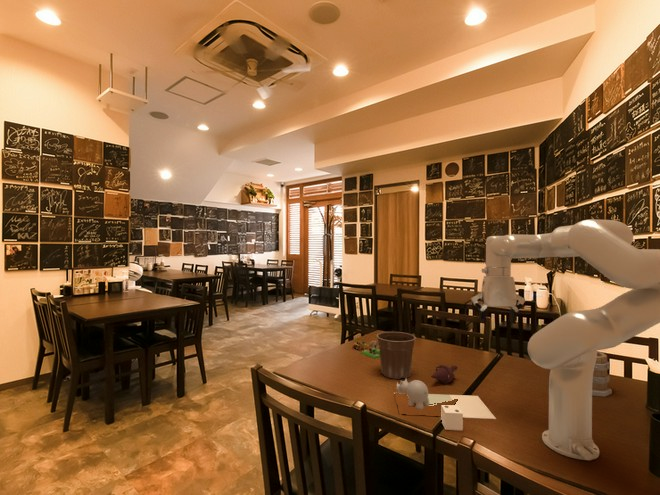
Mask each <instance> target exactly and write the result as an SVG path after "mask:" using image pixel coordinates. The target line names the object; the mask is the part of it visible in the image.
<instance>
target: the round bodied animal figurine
mask: <svg viewBox="0 0 660 495" xmlns="http://www.w3.org/2000/svg"><path fill="white" fill-rule="evenodd" d="M396 393H399V394H402V393H403V394H407V396H408V398H409V400H408V406H409V407H415V406H416V409H417V410H423V409H424V406H429V399H428V394H429V388H428V386H427V384H425V382H423V381H422V380H418V379H414V380H412V381H410V382H409V381H408V378H405V380H400V383H399V382H398V381H396Z"/></svg>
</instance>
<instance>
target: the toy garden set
mask: <svg viewBox="0 0 660 495" xmlns="http://www.w3.org/2000/svg"><path fill="white" fill-rule="evenodd" d="M370 345H371V346H372V347H373V348H372V347H370V348H369V346H370ZM367 347H368V350H367V349H366V348H367ZM353 348H356V350H357V349H358V350H357V351H359V352H360V354H361V355H363V354H364V356H366V357H368V356H369V357H368V358H371V357H372V358H371V359H375V360H376V358H377V359H380V358H379V357H380V349H379V345H378V341H377V340H371V341H370V342H369V344H367V343H365V341H363V342H359V341H356V342H354V343H353V345H352V349H353ZM363 350H364V351H363Z"/></svg>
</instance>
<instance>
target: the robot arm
mask: <svg viewBox="0 0 660 495" xmlns="http://www.w3.org/2000/svg"><path fill="white" fill-rule="evenodd" d="M633 240H634V234H633V231H632V229H631V228H630V227H629V226H628V225H627V224H625V223H624V222H621V221H618V220H613V219H592V218H590V219H584V220H581V221H578V222H576V223H575V224H573V225H572V224H571V225H564V226H558V227H556V228H554V230H553V231H551V232H549V233H541V234H506V235H491V236H487V238H486V240H485V267H484V268H481V273H482V274H483V273H484V274H485V275H483V279H482V284H481V292H479V293H478V294H476V295H473V296H471V297H470V300H471V301H472V304H473V306H475V307H476V308H477V310H478V320H479V322H481V323H483V324H487V312H486V311H485V310H486V309H487V308H488V307H496V308H497V307H498V308H500V307H501V308H506V307H507V308H510V310H509V316H508V317H509V323H511V324H513V325H516V323H517V321H518V319H517V318H518V312H520V310H521V309H522V308H523V305H524V303H525V302H526V298H524V297H522V296H520V295H518V294H517V291H516V290H517V289H516V283H515V282H516V281H515V278H514V276H511V275H512V274H511V273H512V271H511V270H512V267H511V266H512V265H511V264H512V260H511V259H541V258H555V257H556V258H557V257H558V258H575V257H580V258H581V259H582V260H583V261H585V262H586V263H588V264H589V265H590V266H591V267H593V268H594V269H596V270H597V271H598V272H599V273H601V274H602V275H603V276H604V277H606V278H607V279H608V280H610V281H611V282H612V283H614V284H616V285H618V286H621V287H623V288H625V289H629V291H626V292H624V293H622V294H620V295H618V296H617V297H615V298H614V299H613V300H611V301H609V302H607V303H604V305H602V306H600V307H598V308H597V307H596V308H593V309H591V308H590V309H585V310H575V311H571V312H567V313H564V314H563V315H561V316H559V317H558V318H556V319H555V320H553V321H552V322H550V323H548V324H547V325H546V326H544V327H543V328H541V329H539V330H538V331H537V332H535V333H533V334H532V336H531V337H530V338H529V341H528V342H527V354H528V356H529V359H531V361H532V362H533V363H534V364H535V365H537V366H538V367H539V368H542V369H545V370H550V371H549V377H548V429H547V430H544V431H543V432H542V433H541V439H542V442H543V443H544V444H545V445H546V446H547V447H548V448H549V449H551V451H554V452H556V453H557V454H560V455H562V456H565V457H568V458H572V459H576V460H582V461H592V460H596V459H598V458H599V456H600V449H599V447H598V445H596V444H595V442H594V440H593V429H592V428H593V419H592V418H593V396H592V382H593V372H594V367H595V363H596V358H597V351H603V350H608V349H612V348H615V347H618V346H619V345H621V344H623V343H624V342H627V341H628V340H630V339H632V338H634V337H636V336H638V335H639V334H641V333H644V332H646V331H647V330H648V329H651V328H653V327H654V326H656V325H658V324H660V249H657V248H656V249H654V248H651V249H650V248H647V249H646V248H644V249H643V248H642V249H639V248H637V247H635V246H634V245H632V244H633ZM479 299H480V301H481V303H479V302H478V300H479ZM517 300H518V302H517Z"/></svg>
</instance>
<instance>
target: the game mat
mask: <svg viewBox="0 0 660 495" xmlns="http://www.w3.org/2000/svg"><path fill="white" fill-rule="evenodd" d="M395 393H396V392H393V395H394V394H395ZM428 399H429V404H433V405H429V406H434V405H437V403H442V402H445V401H446V402H448V401H452V400H454V399H458V401H457V402H456V404H455V405H458V407H459V408H460V410H461V411H462V413H463V418H464V419H481V420H482V419H483V420H497V418H496V416H495V415H494V414H493V413H492V412H491V411H490V409H489V408H488V407H487V406H486V404H485V403H484V402H483V401H482V400H481V397H479V395H469V394H468V395H465V394H463V395H461V394H442V393H441V394H439V393H438V394H437V393H436V394H435V393H428ZM434 403H436V404H434Z"/></svg>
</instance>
